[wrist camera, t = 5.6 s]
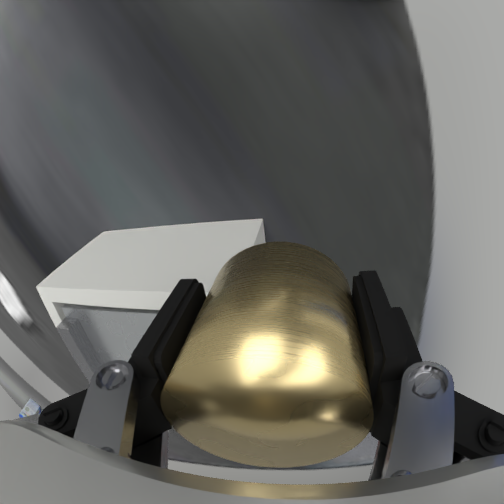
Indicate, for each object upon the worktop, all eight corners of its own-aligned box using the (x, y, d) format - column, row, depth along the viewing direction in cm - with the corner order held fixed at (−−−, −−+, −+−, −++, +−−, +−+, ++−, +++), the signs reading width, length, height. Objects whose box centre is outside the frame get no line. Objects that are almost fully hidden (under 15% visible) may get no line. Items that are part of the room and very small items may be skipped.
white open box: (262, 218, 28) (237, 291, 17) (277, 355, 36) (265, 438, 25) (103, 231, 31) (36, 286, 21) (147, 347, 39) (111, 412, 29)
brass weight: (353, 237, 9) (393, 352, 4) (347, 353, 11) (356, 465, 7) (199, 246, 10) (128, 350, 5) (225, 355, 12) (193, 458, 7)
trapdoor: (216, 305, 20) (206, 331, 17) (245, 417, 26) (241, 439, 23) (67, 300, 22) (51, 318, 20) (124, 400, 28) (115, 417, 26)
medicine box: (41, 412, 71) (30, 429, 63) (31, 404, 70) (20, 421, 63) (40, 405, 67) (28, 423, 60) (30, 397, 67) (18, 415, 59)
